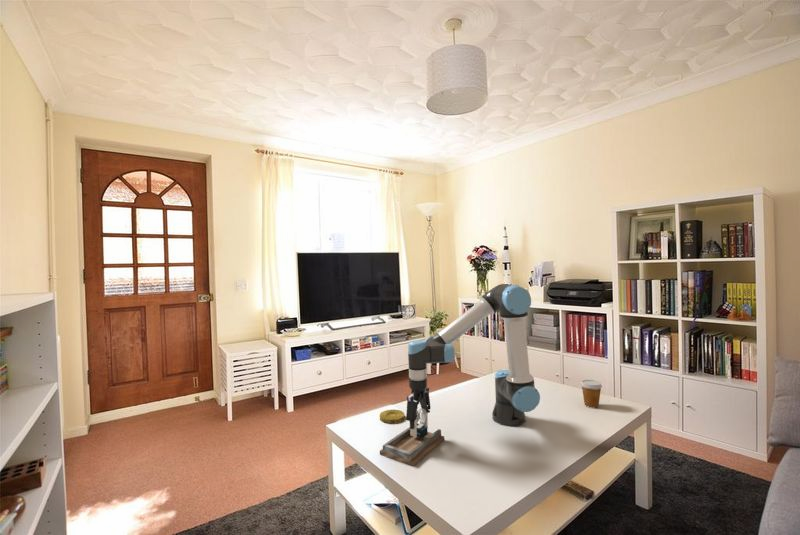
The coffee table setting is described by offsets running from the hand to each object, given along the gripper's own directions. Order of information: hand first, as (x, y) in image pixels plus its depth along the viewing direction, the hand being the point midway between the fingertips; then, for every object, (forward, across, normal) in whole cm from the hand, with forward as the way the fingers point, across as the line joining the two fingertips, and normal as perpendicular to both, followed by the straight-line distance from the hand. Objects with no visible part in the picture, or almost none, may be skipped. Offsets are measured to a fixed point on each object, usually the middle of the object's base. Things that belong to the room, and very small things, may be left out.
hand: (419, 431), depth 159 cm
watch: (+1, 0, 0) cm, 1 cm away
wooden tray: (+4, +5, 0) cm, 7 cm away
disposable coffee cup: (+4, -78, +54) cm, 95 cm away
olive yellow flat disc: (+5, -13, -24) cm, 28 cm away
